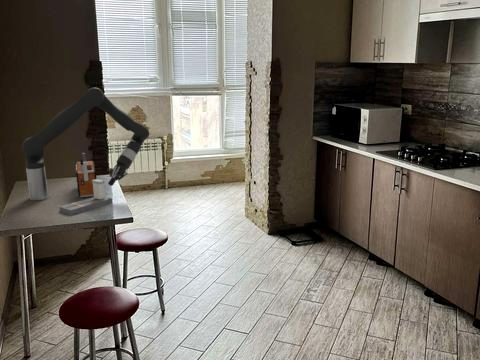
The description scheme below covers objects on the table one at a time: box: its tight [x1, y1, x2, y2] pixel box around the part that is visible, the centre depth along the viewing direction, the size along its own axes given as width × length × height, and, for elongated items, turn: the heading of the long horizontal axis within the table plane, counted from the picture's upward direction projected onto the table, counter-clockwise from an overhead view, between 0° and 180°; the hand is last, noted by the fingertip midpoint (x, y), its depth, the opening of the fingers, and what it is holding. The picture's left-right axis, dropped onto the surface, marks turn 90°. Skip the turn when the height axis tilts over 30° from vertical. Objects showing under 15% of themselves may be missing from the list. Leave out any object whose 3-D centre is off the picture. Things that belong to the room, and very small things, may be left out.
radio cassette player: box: [75, 152, 97, 198], centre depth 257 cm, size 29×10×20 cm, turn 20°
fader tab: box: [92, 179, 106, 199], centre depth 235 cm, size 3×6×9 cm, turn 52°
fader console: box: [59, 196, 113, 216], centre depth 231 cm, size 24×10×3 cm, turn 142°
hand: (110, 185), depth 241 cm, fingers closed
